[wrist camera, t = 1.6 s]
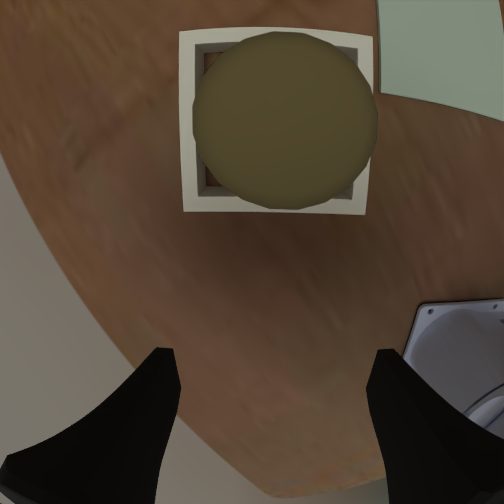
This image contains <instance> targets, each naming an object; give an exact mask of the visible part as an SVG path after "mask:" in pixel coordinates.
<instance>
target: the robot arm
mask: <svg viewBox="0 0 504 504" xmlns="http://www.w3.org/2000/svg"><path fill="white" fill-rule="evenodd" d="M430 309H431V310H430ZM429 310H430V311H429ZM428 311H429V312H428ZM180 392H181V384H180V380H179V375H178V371H177V366H176V361H175V356H174V351H173V349H171V348H159V347H157V348H155V349H154V350H153V351H152V352H151V354H150V355H149V356H148V357H147V358H146V359H145V360H144V361H143V362H142V363H141V365H140V366H139V367H138V368H137V369H136V370H135V371H134V372H133V373H132V374H131V375H130V376H129V377H128V378H127V379H126V380H125V381H124V382H123V383H122V384H121V385H120V386H119V387H118V388H117V389H116V390H115V391H114V392H113V393H112V394H111V395H110V396H109V397H108V398H107V399H105V400H104V401H103V402H102V403H101V404H100V405H99V406H97V407H96V408H95V409H94V410H92V411H91V412H90V413H89V414H87V415H86V416H85V417H83V418H82V419H80V420H79V421H77V422H76V423H74V424H73V425H71V426H70V427H68V428H66V429H65V430H63V431H62V432H60V433H58V434H56V435H55V436H53V437H51V438H49V439H47V440H45V441H43V442H41V443H38V444H36V445H34V446H32V447H29V448H26V449H24V450H21V451H18V452H16V453H13V454H10V455H7V457H6V459H5V461H4V463H3V464H2V466H1V468H0V492H1V493H2V494H4V495H5V496H6V497H7V498H8V499H10V500H11V501H12V502H14V503H15V504H154V503H155V496H156V489H157V483H158V477H159V471H160V467H161V463H162V459H163V456H164V452H165V449H166V446H167V443H168V440H169V436H170V433H171V430H172V426H173V423H174V420H175V417H176V413H177V409H178V404H179V398H180ZM366 392H367V399H368V405H369V411H370V415H371V418H372V422H373V425H374V429H375V432H376V436H377V439H378V443H379V446H380V450H381V453H382V457H383V460H384V465H385V470H386V477H387V484H388V494H389V504H504V299H495V300H482V301H468V302H452V303H433V304H423V305H421V306H420V307H419V309H418V312H417V315H416V318H415V322H414V325H413V328H412V331H411V334H410V337H409V340H408V343H407V346H406V349H405V352H404V355H403V357H401V356H400V355H399V354H398V353H397V352H396V351H395V350H394V349H380V350H378V351H377V354H376V358H375V361H374V364H373V368H372V371H371V374H370V377H369V380H368V383H367V386H366ZM0 504H1V503H0Z"/></svg>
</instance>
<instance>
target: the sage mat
mask: <svg viewBox="0 0 504 504" xmlns="http://www.w3.org/2000/svg"><path fill="white" fill-rule="evenodd" d="M376 7H377V23H378V47H379V93H383V94H390V95H396V96H402V97H407V98H413V99H418V100H423V101H428V102H432V103H437V104H441V105H445V106H450V107H454V108H458V109H462V110H465V111H469V112H473V113H476V114H480V115H483V116H487V117H490V118H493V119H497V120H500V121H503V122H504V34H503V25H502V18H501V11H500V5H499V0H376Z"/></svg>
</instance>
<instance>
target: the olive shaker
mask: <svg viewBox="0 0 504 504" xmlns="http://www.w3.org/2000/svg"><path fill="white" fill-rule="evenodd" d="M377 122H378V112H377V108H376V104H375V101H374V97H373V93H372V90H371V86H370V85H369V83H368V82H367V80H366V78H365V77H364V75H363V74H362V72H361V71H360V69H359V68H358V66H357V65H356V63H355V62H354V61H353V60H351V59H350V58H349V57H348V56H347V55H345V54H344V53H343V52H342V51H340V50H339V49H338V48H336V47H335V46H334V45H333V44H331V43H329V42H326V41H324V40H321V39H319V38H316V37H313V36H311V35H308V34H305V33H299V32H281V31H272V32H268V33H264V34H260V35H256V36H253V37H249V38H246V39H243V40H242V41H240V42H239V43H237V44H235V45H234V46H232V47H231V48H229V49H228V50H226V51H225V52H223V53H222V54H220V55H219V56H218V58H217V59H216V60H215V61H214V63H213V64H212V65H211V66H210V68H209V69H208V70H207V72H206V73H205V74H204V76H203V77H202V78H201V81H200V84H199V87H198V90H197V93H196V96H195V99H194V102H193V105H192V133H193V136H194V139H195V142H196V145H197V148H198V151H199V154H200V157H201V159H202V161H203V162H204V164H205V165H206V166H207V168H208V169H209V170H210V172H211V173H212V174H213V176H214V177H215V178H216V180H217V181H218V182H219V183H220V184H221V185H222V186H224V187H225V188H227V189H228V190H229V191H231V192H232V193H234V194H235V195H236V196H238V197H239V198H241V199H242V200H244V201H247V202H250V203H253V204H256V205H259V206H262V207H265V208H268V209H284V210H300V209H303V208H307V207H311V206H315V205H318V204H322V203H325V202H327V201H329V200H330V199H332V198H333V197H335V196H336V195H338V194H340V193H341V192H343V191H344V190H346V189H348V188H349V187H350V186H351V184H352V183H353V182H354V181H355V180H356V178H357V177H358V176H359V175H360V174H361V172H362V171H363V170H364V169H365V168H366V166H367V164H368V161H369V159H370V156H371V154H372V151H373V149H374V146H375V143H376V139H377Z"/></svg>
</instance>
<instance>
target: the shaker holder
mask: <svg viewBox="0 0 504 504" xmlns="http://www.w3.org/2000/svg"><path fill="white" fill-rule="evenodd" d="M272 31H281V32H299V33H305V34H308V35H311V36H313V37H316V38H319V39H321V40H324V41H326V42H329V43H331V44H333V45H334V46H335V47H336V48H338V49H339V50H340V51H342V52H343V53H344V54H345V55H347V56H348V57H349V58H350V59H351V60H353V61H354V62H355V63H356V65H357V66H358V68H359V69H360V71H361V72H362V74H363V75H364V77H365V78H366V80H367V82H368V83H369V85H370V86H371V90H372V93H373V40H372V37H371V36H365V35H358V34H351V33H344V32H336V31H326V30H315V29H302V28H281V27H236V28H215V29H202V30H191V31H182V32H180V33H179V119H180V151H181V173H182V192H183V208H184V212H291V213H325V214H352V215H365V210H366V201H367V191H368V180H369V168H370V159H369V161H368V164H367V166H366V168H365V169H364V170H363V171H362V172H361V174H360V175H359V176H358V177H357V178H356V180H355V181H354V182H353V183H352V184H351V186H350V187H349V188H348V189H346V190H344V191H343V192H341V193H340V194H338V195H336V196H335V197H333V198H332V199H330V200H329V201H327V202H325V203H322V204H318V205H315V206H311V207H307V208H303V209H300V210H284V209H268V208H265V207H262V206H259V205H256V204H253V203H250V202H247V201H244V200H242V199H241V198H239V197H238V196H236V195H235V194H234V193H232V192H231V191H229V190H228V189H227V188H225V187H224V186H206V165H205V164H204V162H203V161H202V159H201V157H200V154H199V151H198V148H197V145H196V142H195V139H194V136H193V133H192V105H193V102H194V99H195V96H196V93H197V90H198V87H199V84H200V81H201V78H202V77H203V76H204V53H212V52H225V51H226V50H228V49H229V48H231V47H232V46H234V45H235V44H237V43H239V42H240V41H242V40H243V39H246V38H249V37H253V36H256V35H260V34H264V33H268V32H272Z"/></svg>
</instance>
